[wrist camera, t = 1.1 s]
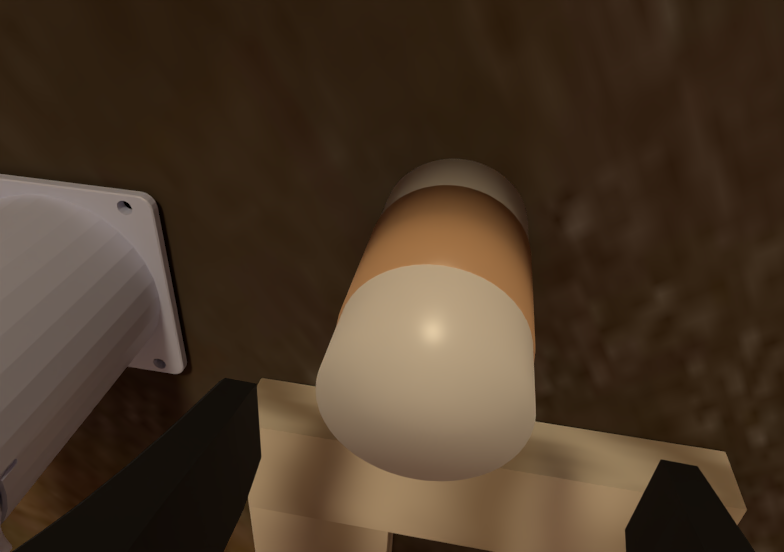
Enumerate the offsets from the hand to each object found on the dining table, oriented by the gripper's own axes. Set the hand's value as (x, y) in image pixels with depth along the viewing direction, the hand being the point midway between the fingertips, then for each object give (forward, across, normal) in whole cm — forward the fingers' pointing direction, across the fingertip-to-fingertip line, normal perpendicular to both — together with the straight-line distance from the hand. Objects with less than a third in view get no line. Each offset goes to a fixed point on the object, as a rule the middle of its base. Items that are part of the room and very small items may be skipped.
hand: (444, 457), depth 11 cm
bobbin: (+10, +1, 0) cm, 10 cm away
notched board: (+10, -2, +14) cm, 17 cm away
